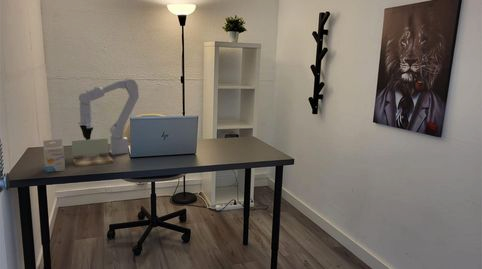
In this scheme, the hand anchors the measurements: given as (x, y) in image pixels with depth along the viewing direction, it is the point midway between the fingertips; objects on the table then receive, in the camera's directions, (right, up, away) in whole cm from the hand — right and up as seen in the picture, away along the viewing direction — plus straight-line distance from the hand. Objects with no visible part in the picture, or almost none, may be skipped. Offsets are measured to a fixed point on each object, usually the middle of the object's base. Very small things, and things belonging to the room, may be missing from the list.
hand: (86, 138), depth 202 cm
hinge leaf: (+6, -5, -8) cm, 11 cm away
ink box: (-4, -15, -26) cm, 31 cm away
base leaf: (+8, -12, -10) cm, 18 cm away
